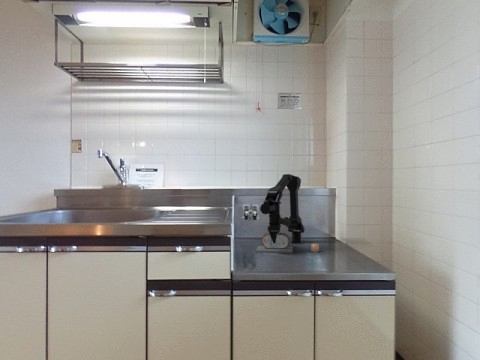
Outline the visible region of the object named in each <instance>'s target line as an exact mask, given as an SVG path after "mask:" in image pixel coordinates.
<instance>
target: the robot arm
mask: <svg viewBox="0 0 480 360" xmlns="http://www.w3.org/2000/svg"><path fill="white" fill-rule="evenodd" d="M301 183H302V179H301V178H300V177H299V176H295V175H292V174H290V173H285V174H282V176H281V178H280V180H278V182H277V183H276V184H275V186H273V187H272V186H271V187H270V188H269V189H267V192H266V194H265V196H264V200H263V203H262V204H261V205H260V207H259V210H260V212H261V214H262V215H268V217H269V218H268V221H269V222H268V225H267V233H269V234H270V236H271V239H272V241H273V243H276V237H277V233H281V227H282V226H285V227H286V228H287V232H288V233H291V239H290V243H291V244H303V241H302V234H304V233H305V226H304V225H303V221H302V218H301V217H300V215H299V213H300V212H299V190H300V188H301ZM286 188H287V191H289V206H290V207H289V209H290V210H289V211H290V212H289V213H290V216H289V217H287V216H285V217H282V216H281V204H282V202H281V200H282V197H283V194H284V193H283V192H284V190H285V189H286Z"/></svg>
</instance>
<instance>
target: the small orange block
mask: <svg viewBox="0 0 480 360" xmlns="http://www.w3.org/2000/svg"><path fill="white" fill-rule="evenodd" d="M310 252H311V253H319V252H320V244H319V243H313V242H312V243H310Z"/></svg>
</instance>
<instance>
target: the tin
mask: <svg viewBox="0 0 480 360" xmlns="http://www.w3.org/2000/svg"><path fill="white" fill-rule="evenodd" d="M290 243H291V239H290V236H289V235H288V234H287V233H284V232H279V233H277V237H276V243H273V241H272V239H271V236H270V234H269V232H266V233H264V234H263V235H262V237H261V244H262V246H264V247H266V248H269V249H285V248H287V247H290Z"/></svg>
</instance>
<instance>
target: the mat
mask: <svg viewBox="0 0 480 360" xmlns="http://www.w3.org/2000/svg"><path fill="white" fill-rule="evenodd" d="M255 253H271V254H274V253H275V254H293V253H294V247H293V246H288V247H287V248H285V249H269V248H266V247H264V246H263V245H258V246H257V247H256V250H255Z"/></svg>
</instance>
